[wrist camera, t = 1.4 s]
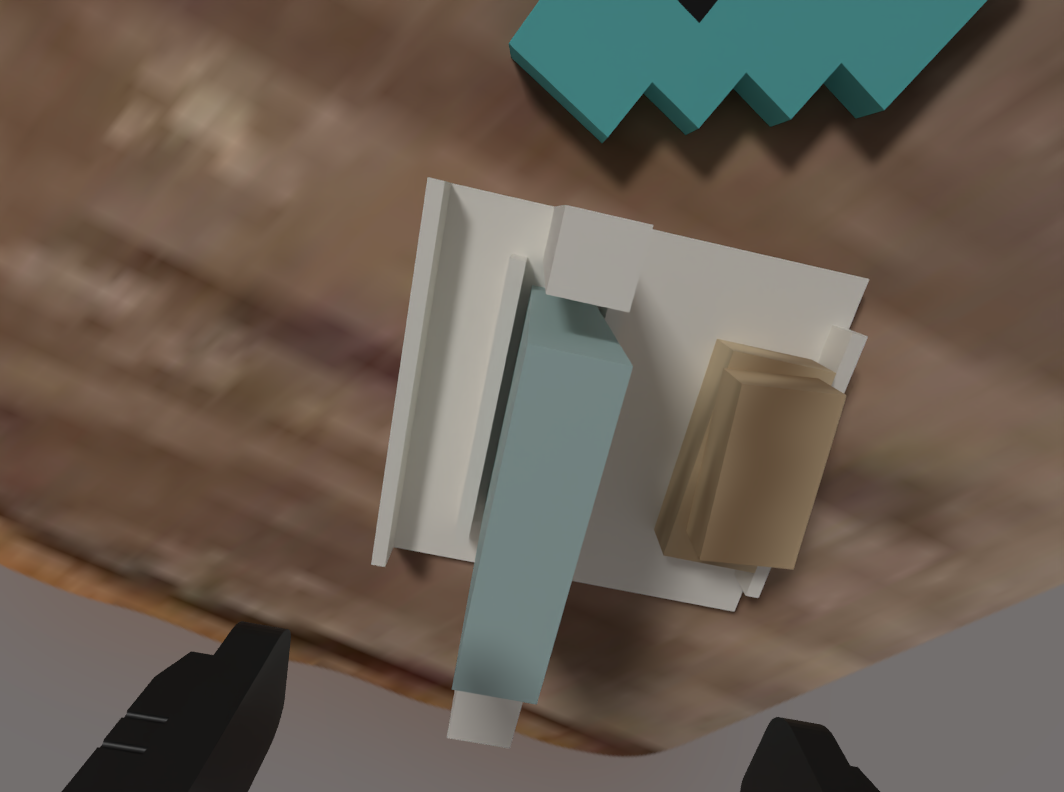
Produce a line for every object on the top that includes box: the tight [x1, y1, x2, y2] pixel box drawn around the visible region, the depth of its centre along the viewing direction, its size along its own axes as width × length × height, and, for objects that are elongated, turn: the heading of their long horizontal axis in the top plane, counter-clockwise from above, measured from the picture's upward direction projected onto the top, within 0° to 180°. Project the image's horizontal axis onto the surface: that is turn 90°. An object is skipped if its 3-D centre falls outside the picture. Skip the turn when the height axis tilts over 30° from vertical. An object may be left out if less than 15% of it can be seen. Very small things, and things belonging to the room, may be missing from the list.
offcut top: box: [686, 368, 847, 569], centre depth 21 cm, size 4×7×2 cm, turn 174°
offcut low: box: [654, 339, 836, 573], centre depth 23 cm, size 4×9×2 cm, turn 168°
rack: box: [371, 177, 869, 748], centre depth 20 cm, size 17×16×10 cm
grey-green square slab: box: [452, 285, 633, 704], centre depth 19 cm, size 2×10×10 cm, turn 168°
